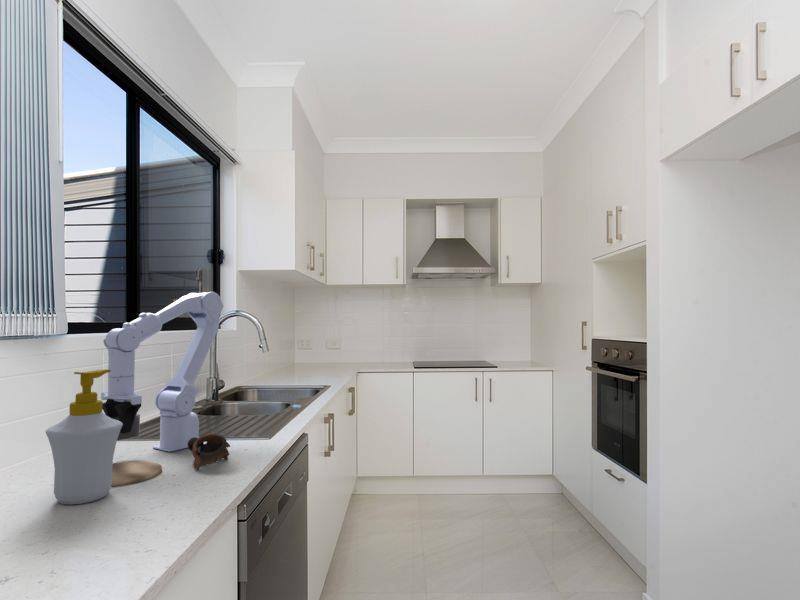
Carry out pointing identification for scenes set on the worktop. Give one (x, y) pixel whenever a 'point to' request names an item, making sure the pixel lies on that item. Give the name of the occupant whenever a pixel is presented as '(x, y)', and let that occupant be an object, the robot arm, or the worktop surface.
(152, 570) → the worktop surface
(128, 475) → the round copper disc
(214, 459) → the dark brown lumpy piece
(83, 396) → the soap bottle
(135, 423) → the dark grey rounded block
